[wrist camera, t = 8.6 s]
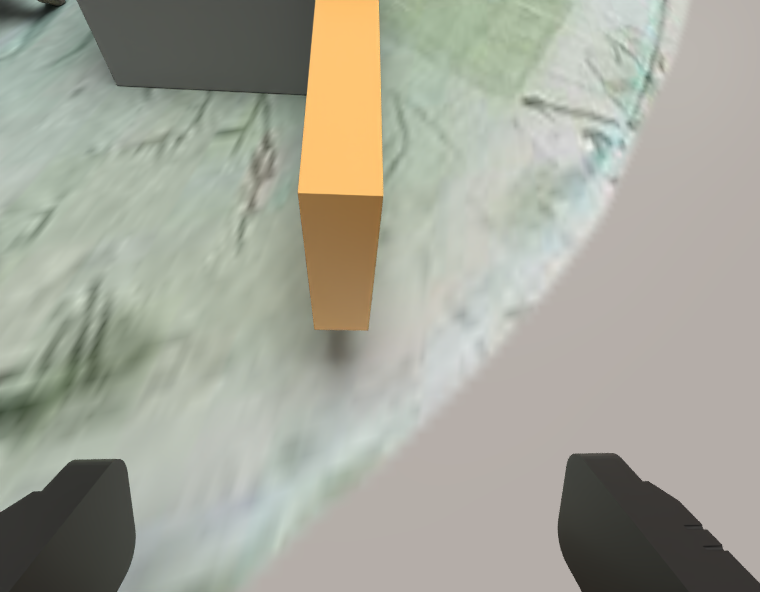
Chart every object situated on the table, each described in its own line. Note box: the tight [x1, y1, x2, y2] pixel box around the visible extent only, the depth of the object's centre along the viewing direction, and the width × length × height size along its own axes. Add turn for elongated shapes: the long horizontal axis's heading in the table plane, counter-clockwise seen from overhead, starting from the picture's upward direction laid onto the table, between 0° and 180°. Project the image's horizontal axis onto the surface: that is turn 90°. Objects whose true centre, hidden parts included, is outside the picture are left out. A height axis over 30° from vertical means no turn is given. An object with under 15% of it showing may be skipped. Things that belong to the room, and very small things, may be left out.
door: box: [298, 0, 383, 330], centre depth 16 cm, size 2×17×9 cm, turn 1°
